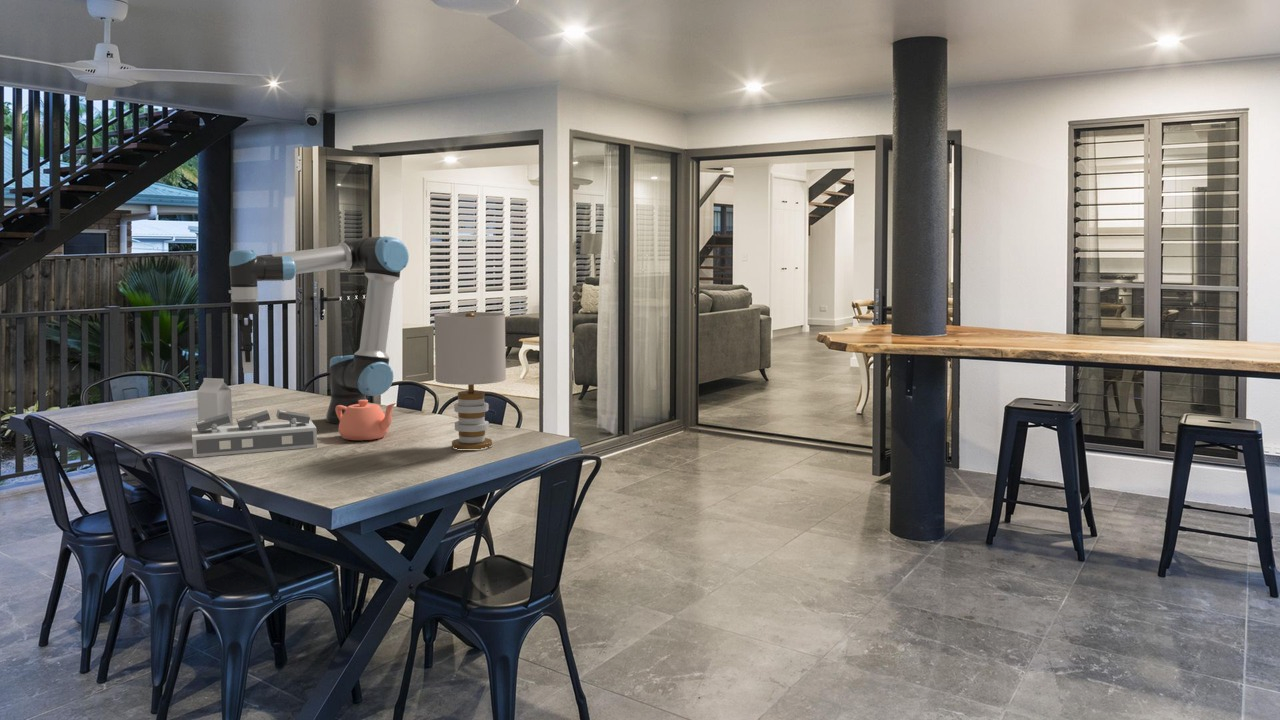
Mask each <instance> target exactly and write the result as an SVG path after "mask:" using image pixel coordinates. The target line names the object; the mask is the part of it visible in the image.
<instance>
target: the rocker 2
mask: <svg viewBox="0 0 1280 720" xmlns="http://www.w3.org/2000/svg"><path fill="white" fill-rule="evenodd" d="M275 416H276V418H277V419H278V420H281V421H282V420H283V421H287V422H289V421H291V422H292V423H296V422H300V423H307V424H309V421H310V420H311V417H310V415H309V414H307V413H301V412H295V411H291V410H290V411H289V410H283V409H277V410H276V415H275Z"/></svg>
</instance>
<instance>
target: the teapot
mask: <svg viewBox="0 0 1280 720" xmlns="http://www.w3.org/2000/svg"><path fill="white" fill-rule="evenodd" d="M358 403H359V404H355V405H350V406H348V407H346V406H343V405H337V406H336V408H335V410H336V414H337V417H338V419H339V420H340V424H338V433H339V435H340V436H341V437H342V439H345V440H348V441H349V440H350V441H363V440H369V441H373V440H376V439H377V440H378V439H381V438H384V437H385V436H386V434H387V433H388V432H389V430H390V426H391V425H392V424H391V423H392V419H393V418H392V415H393V414H392V413H393V412H392V411H393V408H394V406H395V405H396V404H397V402H395V403H394V402H393V403H390V404H387V406H386V408H385V412H384V411H383V409H382V408H381V406H380V405H378V404H377V403H369V400H368V399H366V400H358ZM367 403H368V404H367ZM342 409H343V410H345V412H344V414H342Z"/></svg>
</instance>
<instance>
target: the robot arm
mask: <svg viewBox="0 0 1280 720" xmlns="http://www.w3.org/2000/svg"><path fill="white" fill-rule="evenodd" d="M408 251H409V250H408V248H407V246H406V245H405V244H404V243H403V241H402V240H400V239H398V238H397V237H392V236H385V235H384V236H368V237H362V238H358V239H354V240H351V241H343V242H339V243H338V245H337V246H336V245H335V246H328V247H319V248H317V247H316V248H313V249H311V248H310V249H303V250H294V251H286V252H277V253H276V252H275V253H269V254H261V255H257V252H256V251H255V250H254V249H248V250H247V249H233V250H231V251H230V252H229V257H228V258H229V259H228V261H229V262H228V266H229V278H230V289H228V293H229V294H231V295H230V299H231V300H232V301H231V313H232V314H233V315H240V319H239V320H238V326H239V332H240V334H241V348H240V349H239V350H240V352H241V356H242V357H241V358H242V359H241V360H242V368H243V370H242V371H243V374H252V373H254V359H253V347H254V343H253V342H252V341H253V339H252V333H253V326H254V322H253V319H251V316H250V315H257V314H259V301H258V300H259V290H258V289H259V287H258V282H264V281H265V282H267V281H268V282H269V281H270V282H273V281H275V282H276V281H282V282H284V281H292V280H293V279H294V278H295V276H296V275H299V274H301V275H302V274H306V273H307V274H308V273H315V272H323V271H329V270H336V269H337V270H338V269H341V270H344V271H351V270H353V271H354V270H359V271H364V275H365V277H366V278H367V279H368V283H367V288H366V294H365V295H366V298H365V305H364V311H363V319H362V327H361V334H360V335H361V336H360V342H359V348H358V349H357V351H356V352H354V354H350V355H348V354H347V355H338V356H333V357H331V358H330V360H329V378H330V380H329V381H330V402H329V406H328V408H327V412H326V422H327V423H331V424H336V425H337V424H338V425H339V424H340V420H339V419H338V417H337V414H336V410H335V408H336V406H337V405H343V406H346V407H348V406H350V405H355V404H359V403H358V400H367V397H366V396H370V397H373V396H374V397H375V396H377V397H378V396H381V395H384V394H385V393H386V392H387V391H389V390H390V388H391V386H392V384H393V381H394V371H393V370H392V367H391V366H390V365H389V364H390V363H389V362H390V356H389V355H388V354H387V353H386V352H387V351H386V350H387V343H388V334H389V328H390V327H389V326H390V320H391V311H392V305H393V297H394V288H395V283H396V282H397V281H399V280H401V279H400V278H401V271H403V270H404V269H405V268H406V267H407V266H408V263H409V258H410V257H409V256H410V255H409V252H408ZM367 404H369V402H368V403H367ZM344 412H345V410H343V409H342V414H344Z"/></svg>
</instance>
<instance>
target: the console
mask: <svg viewBox="0 0 1280 720" xmlns="http://www.w3.org/2000/svg"><path fill="white" fill-rule="evenodd" d="M317 434H318V432H317V427H316V425H315V424H314V423H313V421H312V420H311V419H310V421H309V424H307V423H300V422H296V423H292V422H291V421H278V422H277V421H276V422H266V423H263V422H262V423H258V424H257V425H256V426H253V425H251V426H247V427H244V428H241V429H239V426H238V424H237V425H233V426H221V427H217V428H216V429H213V428H210V429H207V430H203V431H200V432H198V429H197V427H194V428H191V443H192V458H203V457H204V458H205V457H214V456H226V455H227V456H228V455H238V454H241V455H242V454H252V453H263V452H273V451H284V450H285V451H287V450H296V449H297V450H298V449H309V448H310V449H311V448H317V447H318V439H317Z"/></svg>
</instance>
